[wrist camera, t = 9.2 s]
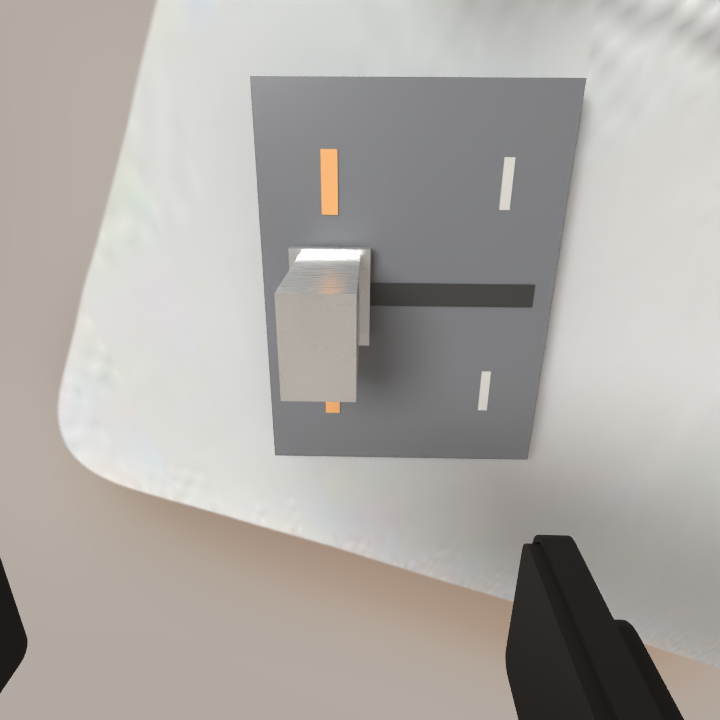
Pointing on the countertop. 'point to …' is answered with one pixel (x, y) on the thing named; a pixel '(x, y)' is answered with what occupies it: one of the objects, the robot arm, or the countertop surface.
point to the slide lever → (322, 322)
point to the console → (422, 249)
